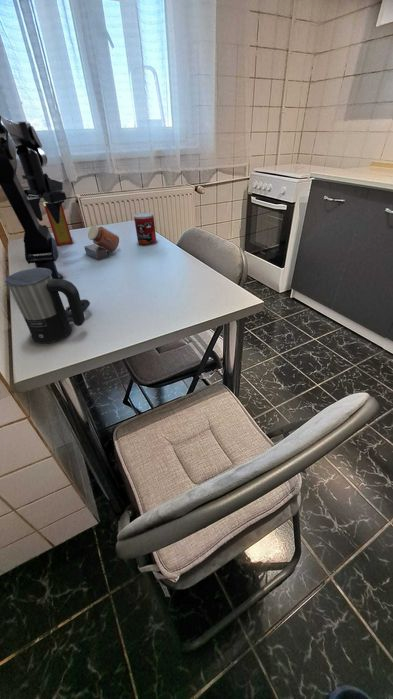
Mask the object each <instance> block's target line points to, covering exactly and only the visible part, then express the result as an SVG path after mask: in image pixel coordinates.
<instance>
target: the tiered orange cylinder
mask: <svg viewBox="0 0 393 699" xmlns="http://www.w3.org/2000/svg"><path fill="white" fill-rule="evenodd" d="M87 238H88V240H90V241H92V244H95V245H97V246H99V247H102V248H104V249H106V251H107V252H109V253H114V252H115V251H116V250H117V248H118V246H119V244H120V238H119V235H118V234H115V233H114V232H112V231H110V230H109V229H107V228H105V227H103V226H99V227H98V225H97V224H93V225H91V226H90V228H89V229H88V232H87Z"/></svg>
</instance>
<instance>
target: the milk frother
mask: <svg viewBox="0 0 393 699" xmlns="http://www.w3.org/2000/svg"><path fill="white" fill-rule="evenodd" d="M51 273H52V272H51V270H50V269H47V268H36V267H35V268H34V267H33V268H32V267H31V268H27V269H22V270H19V271H17V272H14V273H12V274H10V275H8V276H7V277H6V278H5V279H4V283H5V285H7V287H8V289H9V291H10V292H11V295H12V296H13V299H14V301H15V303H16V305H17V307H18V309H19V311H20V314H21V315H22V317H23V319H24V322H25V323H26V326H27V328H28V330H29V333H30V335H31V336H30V338H31V340H32V341H33V342H35V343H36V344H51V343H56V342H58V341H60V340H63V339H64V338H66V337H67V336H69V334H70V333H72V329H73V327H72V325H71V322H73V323H74V325H75V326H76V327H80V326H83V324H84V322H85V321H86V318H85V317H86V316H85V313H84V312H85V311H86V310H87V309H88V308H89V307H90V305H91V302H90V300H89V299H86V298H85V299H81V296H80V293H79V289H78V288H77V286H76V285H74V284H73V283H72V282H71V281H69V280H67V279H63V278H61V279H52V276H51ZM59 292H60V293H62V294H64V295H65V297H66V300H67V303H68V306H66V307H65V306H64V303H63V301H62V298H61V295H60V293H59Z"/></svg>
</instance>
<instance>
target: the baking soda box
mask: <svg viewBox="0 0 393 699" xmlns="http://www.w3.org/2000/svg"><path fill="white" fill-rule="evenodd" d="M45 203H48V202H46V201H43V202H42V204H43V207H44V210H45V213H46V217H47V220H48V223H49V225H50V228H51V232H52V234H53V235H52V236H53V238H54V240H55V242H56V246H57V247H60V246H65V245H71V244H74V242H73V238H72V235H71V231H70V228H69V224H68V220H67V217H66V214H65V210H64V207H63V204H62V205H61V206H60V223H58V224H57V223H56V222H55V220H54V219H53V217H52V215H51V213H50V212H49V210H48V208H47V206H46V205H45Z"/></svg>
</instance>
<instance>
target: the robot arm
mask: <svg viewBox="0 0 393 699" xmlns="http://www.w3.org/2000/svg"><path fill="white" fill-rule="evenodd" d="M42 149H43V144H42V143H41V141H40V138H39V136H38V134H37V132H36V129H35V127H34V126H33V125H32V124H31V123H30V122H29V121H27V120H25V121H14V120H11V119H9V118H7V117H5V116H4V115H3V114H2V115H1V114H0V188H1V189H2V190H1V191H3V193H4V195H5V197H6V199H7V201H8V203H9V205H10V207H11V208H12V210H13V212H14V214H15V216H16V218H17V220H18V222H19V223H20V225H21V227H22V230H23V232H24V233H23V234H24V235H23V241H22V242H23V245H24V246H23V247H24V258H25V259H24V260H25V261H26V263H27V264H28V265H29V264H34V265H35V268H47V269H50V270H51V272H52V273H51V276H52V279H63V278H64V276H63V274H60V273H59V271H58V269H57V265H56V263H55V262H57V260H58V258H59V251H58V248H57V247H58V246H57V244H56V241H55V238H54V237H53V235H52V234H51V231H50V230H49V227H48V226H47V225H43V224H41V223H40V222H42V221H43V220H44V218H43V214H42V210H41V206H40V202H41V199H43V200H44V202H48V203H45V205H46V206H47V208H48V210H49V212H50V213H51V215H52V217H53V219H54V220H55V222H56V223H57V224H58V223H60V206H61V205H62V206H63V203H65V201H66V200H68V198H67V194H66V192H65V191H64V186H63V184H64V183H63V182H62V181H59V180H56V179H52V178H51V177H49V175H48V173H45V172H44V169H43V168H44V167H46V166H47V164H48V156H47V154H46V152H44V150H42ZM17 158H18V159H19V163H20V165H21V169H22V171H23V175H21V177H22V179H23V180H26V183H27V187H26V188H23V186H22V184H21V181H20V180H19V177H18V175H17V168H18V167H17V166H18V160H17ZM39 221H40V222H39Z"/></svg>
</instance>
